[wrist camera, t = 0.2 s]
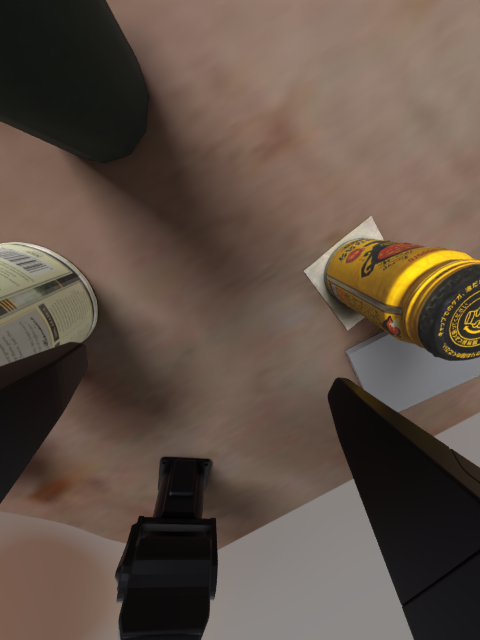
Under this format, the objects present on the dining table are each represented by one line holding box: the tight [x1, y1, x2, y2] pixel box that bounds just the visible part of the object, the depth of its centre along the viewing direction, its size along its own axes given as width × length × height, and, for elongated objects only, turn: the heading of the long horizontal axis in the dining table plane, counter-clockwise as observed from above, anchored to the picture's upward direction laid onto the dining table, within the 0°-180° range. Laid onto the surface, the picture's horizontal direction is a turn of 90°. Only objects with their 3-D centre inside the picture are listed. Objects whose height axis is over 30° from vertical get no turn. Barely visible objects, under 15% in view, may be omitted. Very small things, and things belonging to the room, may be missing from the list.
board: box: [345, 331, 480, 412], centre depth 27 cm, size 14×12×1 cm
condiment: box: [304, 216, 480, 361], centre depth 17 cm, size 7×8×12 cm
